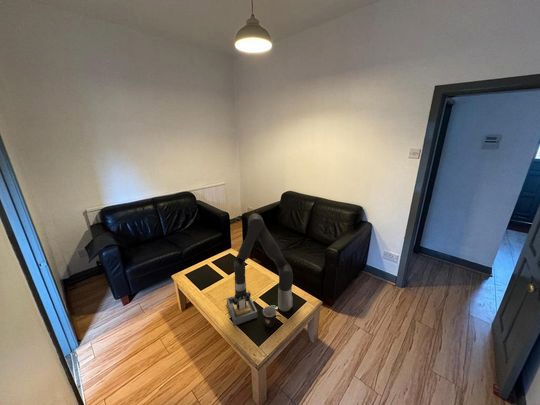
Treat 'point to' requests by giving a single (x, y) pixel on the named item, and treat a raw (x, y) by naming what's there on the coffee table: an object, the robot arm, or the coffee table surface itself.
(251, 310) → the walled box
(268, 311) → the coffee mug
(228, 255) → the coffee table surface
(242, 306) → the peg
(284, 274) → the robot arm
